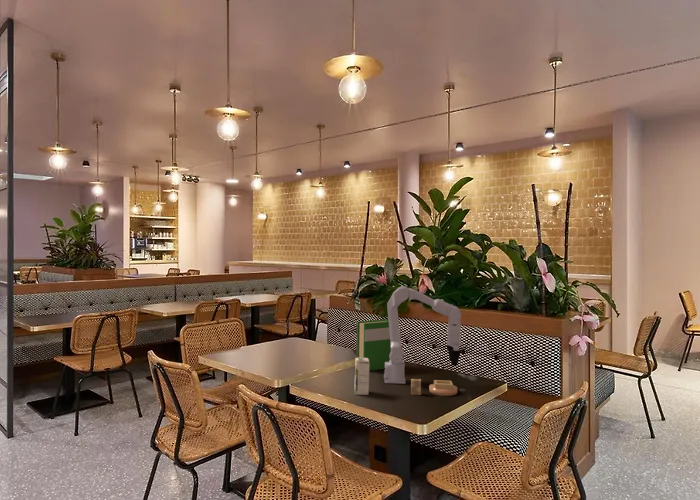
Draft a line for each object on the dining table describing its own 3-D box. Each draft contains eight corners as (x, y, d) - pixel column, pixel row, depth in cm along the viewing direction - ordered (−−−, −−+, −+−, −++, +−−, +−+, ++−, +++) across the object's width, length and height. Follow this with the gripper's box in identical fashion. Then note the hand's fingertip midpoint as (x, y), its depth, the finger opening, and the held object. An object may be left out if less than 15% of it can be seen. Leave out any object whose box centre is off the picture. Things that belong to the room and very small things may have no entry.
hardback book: (364, 371, 238) (364, 323, 238) (356, 368, 244) (357, 321, 244) (392, 367, 247) (393, 321, 247) (384, 364, 253) (385, 319, 253)
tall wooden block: (411, 394, 201) (411, 380, 201) (410, 392, 203) (411, 378, 203) (420, 395, 201) (420, 380, 201) (420, 393, 203) (420, 379, 203)
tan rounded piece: (430, 395, 201) (430, 385, 201) (428, 387, 212) (428, 378, 212) (459, 396, 199) (459, 386, 199) (455, 388, 211) (455, 379, 211)
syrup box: (353, 391, 205) (354, 357, 205) (367, 390, 205) (368, 357, 205) (355, 395, 199) (355, 360, 199) (369, 395, 199) (369, 360, 199)
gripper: (465, 336, 209) (464, 367, 209) (460, 330, 223) (459, 359, 223) (449, 336, 209) (448, 366, 209) (445, 330, 224) (444, 359, 224)
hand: (453, 363), depth 216 cm, fingers open, 7 cm apart
